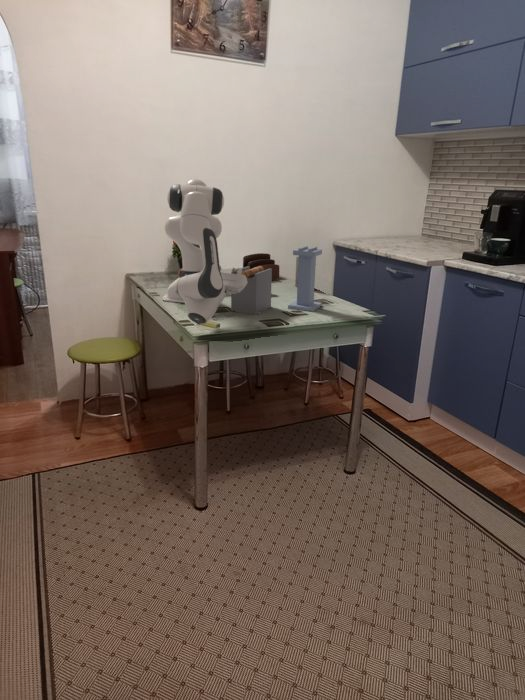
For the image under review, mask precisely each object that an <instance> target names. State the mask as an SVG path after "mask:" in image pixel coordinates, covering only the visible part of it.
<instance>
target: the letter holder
mask: <svg viewBox="0 0 525 700" xmlns="http://www.w3.org/2000/svg"><path fill="white" fill-rule="evenodd" d="M247 266H250V269H252V268H255V267H258V266H262V267H263V269H264V270H267V269H270V268H271V269H272V280H275V279H279V278H280V265H279V264H276V261H275V259H271V254H270V253H259V252H258V253H252V254H248V255H247V254H246V255H245V256H243V258H242V268H244V267H247ZM264 270H263V271H264Z"/></svg>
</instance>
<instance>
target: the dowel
mask: <svg viewBox="0 0 525 700" xmlns="http://www.w3.org/2000/svg"><path fill="white" fill-rule="evenodd" d="M263 270H264V269H263V267H262V266H258V267H255V268H252V269H249V270H246V271H243V272H242V273H241V275H245V276H246V278H248V277H251V276H253V275H254V274H256V273H258V272H261V271H263Z"/></svg>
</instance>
